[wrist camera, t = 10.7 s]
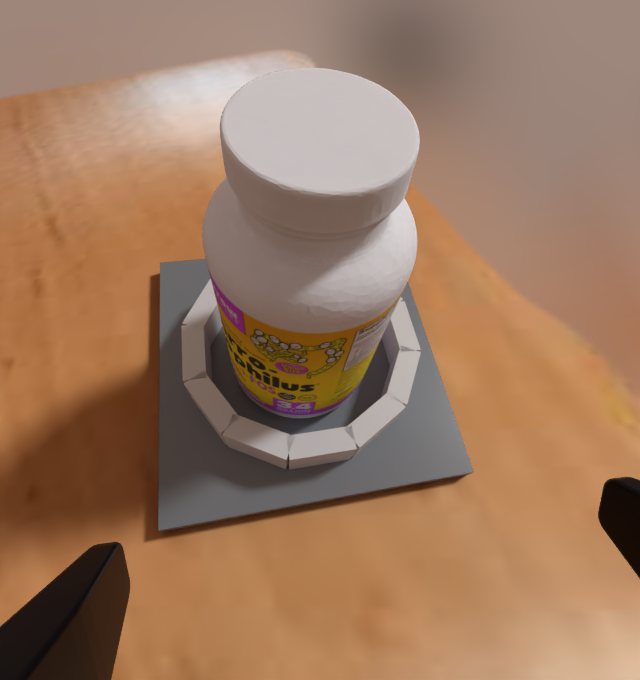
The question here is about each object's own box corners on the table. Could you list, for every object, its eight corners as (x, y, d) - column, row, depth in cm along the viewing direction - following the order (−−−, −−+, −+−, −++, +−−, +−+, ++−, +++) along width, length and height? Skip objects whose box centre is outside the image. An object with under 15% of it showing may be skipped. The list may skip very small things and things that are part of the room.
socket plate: (467, 475, 19) (493, 463, 17) (163, 531, 17) (143, 527, 15) (391, 251, 26) (402, 218, 23) (163, 271, 23) (149, 238, 21)
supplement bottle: (205, 363, 20) (106, 113, 9) (294, 285, 23) (306, 18, 11) (305, 453, 18) (342, 286, 7) (389, 357, 21) (512, 126, 10)
